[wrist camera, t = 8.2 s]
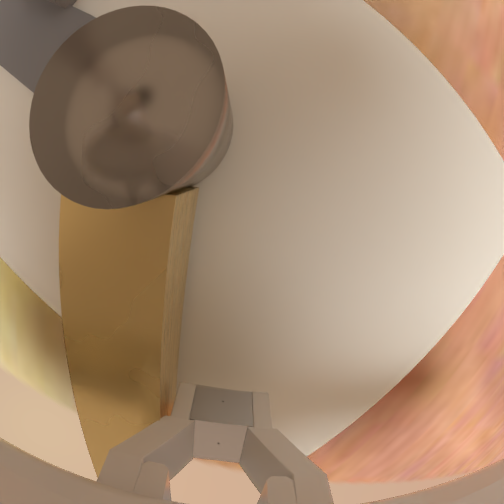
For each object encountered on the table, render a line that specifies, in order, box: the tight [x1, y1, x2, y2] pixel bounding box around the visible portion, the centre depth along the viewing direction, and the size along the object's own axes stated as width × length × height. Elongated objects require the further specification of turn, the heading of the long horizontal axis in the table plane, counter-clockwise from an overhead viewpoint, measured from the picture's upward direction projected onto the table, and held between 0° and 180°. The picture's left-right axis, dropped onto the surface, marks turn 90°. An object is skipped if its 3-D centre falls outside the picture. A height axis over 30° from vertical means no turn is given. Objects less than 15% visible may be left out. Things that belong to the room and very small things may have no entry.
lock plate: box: [0, 0, 504, 457], centre depth 7 cm, size 24×15×4 cm, turn 51°
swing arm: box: [29, 6, 233, 477], centre depth 7 cm, size 13×4×4 cm, turn 170°
